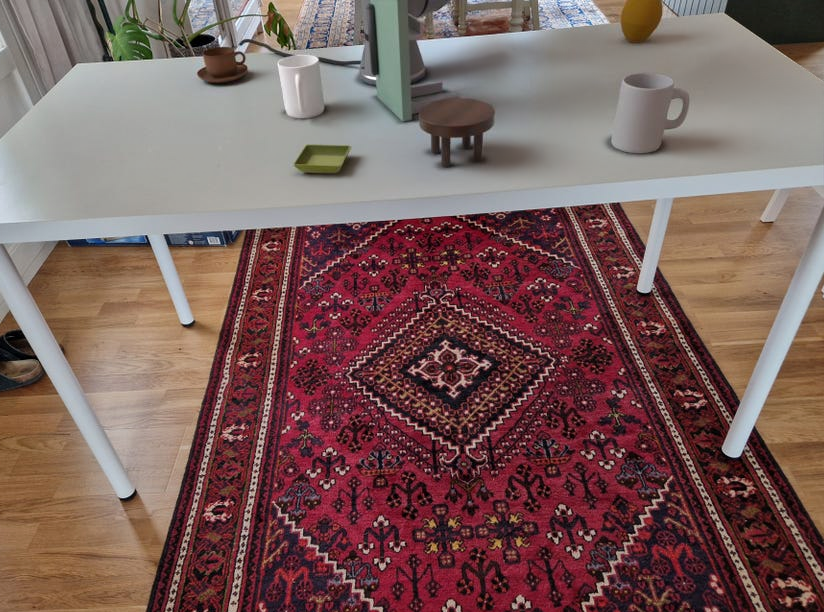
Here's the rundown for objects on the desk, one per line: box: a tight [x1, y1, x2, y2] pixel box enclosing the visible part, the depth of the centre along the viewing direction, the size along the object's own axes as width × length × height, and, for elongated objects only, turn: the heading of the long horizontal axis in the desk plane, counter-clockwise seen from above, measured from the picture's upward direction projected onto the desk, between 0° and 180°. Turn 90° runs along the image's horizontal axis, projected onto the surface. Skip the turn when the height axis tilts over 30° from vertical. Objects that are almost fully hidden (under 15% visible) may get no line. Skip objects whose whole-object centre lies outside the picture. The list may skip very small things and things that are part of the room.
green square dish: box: [293, 143, 352, 174], centre depth 114 cm, size 9×9×2 cm
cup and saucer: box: [196, 46, 248, 84], centre depth 153 cm, size 12×12×6 cm
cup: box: [277, 54, 325, 119], centre depth 131 cm, size 8×12×10 cm
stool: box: [418, 97, 496, 168], centre depth 112 cm, size 13×13×8 cm
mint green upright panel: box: [366, 0, 461, 123], centre depth 128 cm, size 16×16×22 cm
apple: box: [620, 0, 664, 43], centre depth 157 cm, size 10×10×12 cm
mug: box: [610, 72, 690, 154], centre depth 111 cm, size 12×8×11 cm
